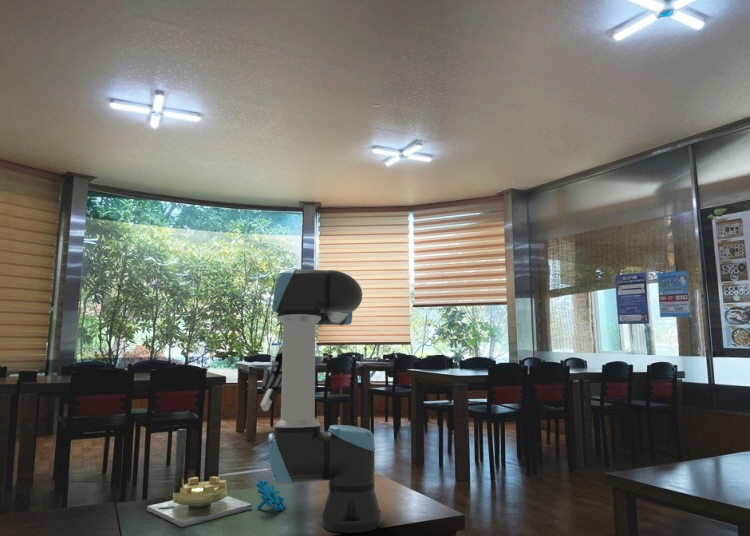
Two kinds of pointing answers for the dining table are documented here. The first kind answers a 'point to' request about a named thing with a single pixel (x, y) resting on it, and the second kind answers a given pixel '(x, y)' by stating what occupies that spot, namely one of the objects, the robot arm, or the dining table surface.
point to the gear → (269, 496)
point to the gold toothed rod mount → (194, 481)
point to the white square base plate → (197, 511)
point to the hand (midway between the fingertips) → (264, 407)
